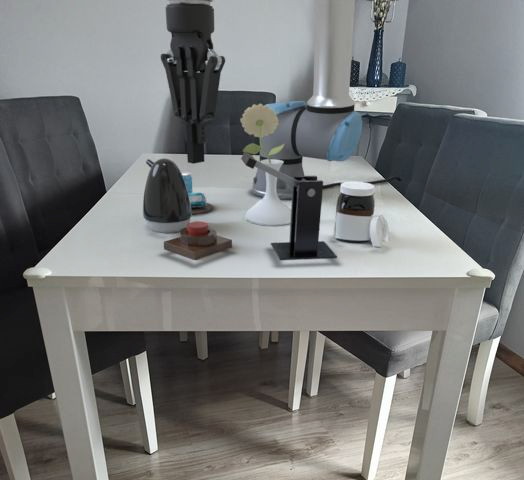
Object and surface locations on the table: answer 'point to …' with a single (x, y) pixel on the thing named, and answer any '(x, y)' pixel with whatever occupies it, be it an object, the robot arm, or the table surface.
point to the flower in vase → (270, 205)
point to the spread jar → (359, 215)
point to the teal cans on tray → (196, 197)
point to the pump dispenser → (166, 198)
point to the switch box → (197, 244)
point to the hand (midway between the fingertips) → (196, 161)
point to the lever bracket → (305, 223)
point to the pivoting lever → (268, 169)
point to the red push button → (197, 228)
